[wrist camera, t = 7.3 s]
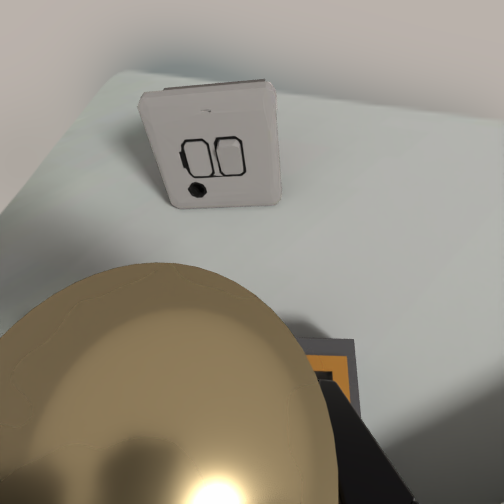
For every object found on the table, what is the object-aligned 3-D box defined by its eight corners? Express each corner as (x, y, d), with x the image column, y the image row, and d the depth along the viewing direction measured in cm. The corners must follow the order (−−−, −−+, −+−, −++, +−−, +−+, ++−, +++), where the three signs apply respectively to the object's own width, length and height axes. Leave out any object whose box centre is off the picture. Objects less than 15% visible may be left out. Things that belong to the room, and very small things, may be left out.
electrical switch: (173, 211, 28) (126, 114, 21) (183, 170, 31) (145, 70, 24) (282, 208, 27) (275, 102, 19) (283, 164, 30) (277, 58, 22)
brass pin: (327, 419, 14) (412, 380, 3) (273, 530, 12) (124, 1100, 2) (240, 362, 15) (114, 214, 5) (183, 455, 14) (-178, 530, 3)
